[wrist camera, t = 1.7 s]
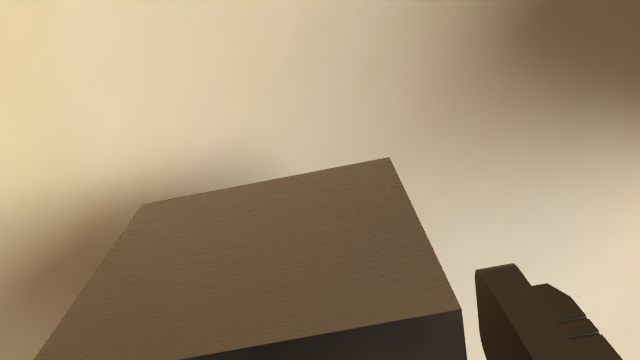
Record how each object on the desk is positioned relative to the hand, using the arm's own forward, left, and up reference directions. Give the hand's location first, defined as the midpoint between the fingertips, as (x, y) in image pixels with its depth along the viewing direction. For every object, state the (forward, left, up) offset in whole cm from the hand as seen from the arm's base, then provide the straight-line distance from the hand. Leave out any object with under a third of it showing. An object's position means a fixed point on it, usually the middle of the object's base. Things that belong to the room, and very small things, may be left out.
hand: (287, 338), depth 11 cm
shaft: (-6, +6, -3) cm, 9 cm away
